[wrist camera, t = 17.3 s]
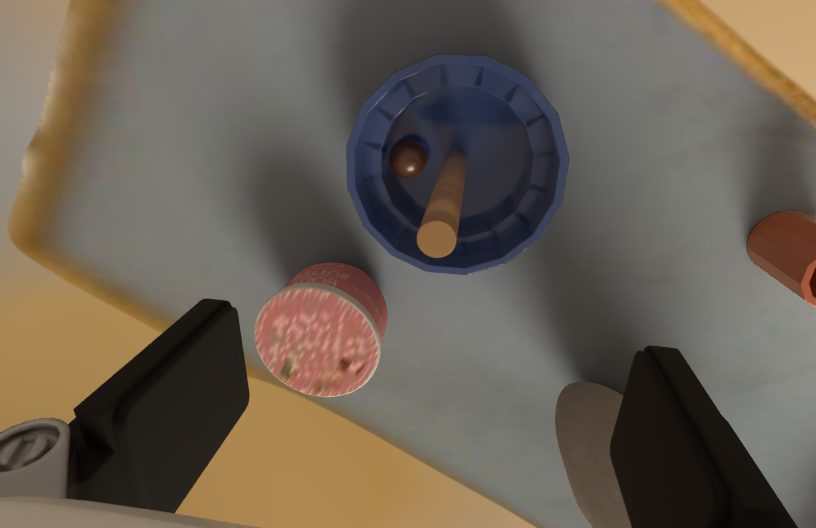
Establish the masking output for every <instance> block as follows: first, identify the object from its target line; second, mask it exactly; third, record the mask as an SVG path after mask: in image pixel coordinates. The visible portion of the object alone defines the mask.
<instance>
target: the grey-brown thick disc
mask: <svg viewBox="0 0 816 528" xmlns="http://www.w3.org/2000/svg"><path fill="white" fill-rule="evenodd" d="M622 399H623V395H622V394H620V393H618V392H616V391H614V390H612V389H610V388H608V387H605V386H603V385H600V384H596V383H592V382H575V383H572V384H569V385H567V386H566V387H565V388H564V389H563V390H562V392H561V393H560V395H559V398H558V401H557V405H556V414H555V425H556V434H557V439H558V444H559V448H560V452H561V456H562V459H563V463H564V466H565V469H566V472H567V476H568V479H569V482H570V485H571V488H572V491H573V494H574V496H575V499H576V501H577V504H578V506H579V508H580V509H581V511H582V513H583V514H584V516H585V517H586V519H587V520H588V522H589V523H590V524H591V526H592V527H593V528H632V526H631V523H630V520H629V517H628V514H627V510H626V507H625V504H624V501H623V497H622V494H621V491H620V488H619V484H618V481H617V478H616V475H615V471H614V468H613V465H612V462H611V458H610V442H611V438H612V434H613V431H614V427H615V424H616V420H617V417H618V413H619V409H620V406H621V402H622Z"/></svg>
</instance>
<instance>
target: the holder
mask: <svg viewBox="0 0 816 528" xmlns="http://www.w3.org/2000/svg"><path fill="white" fill-rule="evenodd" d="M747 251H748V255H749V257H750V259H751V260H752V261H753V262H754V264H756V265H757V266H759V267H760V268H761V269H763V270H764V271H765V272H767V273H768V274H769V275H771V276H772V277H774V278H775V279H776V280H778V281H779V282H780V283H782V284H783V285H785V286H786V287H787V288H789V289H790V290H791V291H793V292H794V293H796V294H797V295H798V296H800V297H801V298H802V299H804V300H805V301H807V302H808V303H809V304H811V305H812V306H814V307H815V308H816V217H815V216H813V215H811V214H809V213H804V212H801V211H792V210H789V211H782V212H778V213H775V214H773V215H770V216H769V217H767V218H765V219H764V220H762V221H761V222H760V223H759V224H758V225H757V226H756V227H755V228H754V229H753V231H752V232H751V234H750V236H749V238H748V242H747Z"/></svg>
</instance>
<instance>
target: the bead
mask: <svg viewBox="0 0 816 528" xmlns="http://www.w3.org/2000/svg"><path fill="white" fill-rule="evenodd" d="M389 164H390V166H391V168H392V170H393V171H394V172H395V173H396V174H397V175H399V176H400V177H403V178H413V177H416V176H418V175H419V174H420V173H422V171H423V170H424V169H425V167H426V164H427V153H426V150H425V148H424V147H423V145H422V144H421V143H419V142H418V141H416V140H413V139H403V140H400V141H398V142H397V143H396V144H394V146H393V147H392V148H391V150H390V153H389Z"/></svg>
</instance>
